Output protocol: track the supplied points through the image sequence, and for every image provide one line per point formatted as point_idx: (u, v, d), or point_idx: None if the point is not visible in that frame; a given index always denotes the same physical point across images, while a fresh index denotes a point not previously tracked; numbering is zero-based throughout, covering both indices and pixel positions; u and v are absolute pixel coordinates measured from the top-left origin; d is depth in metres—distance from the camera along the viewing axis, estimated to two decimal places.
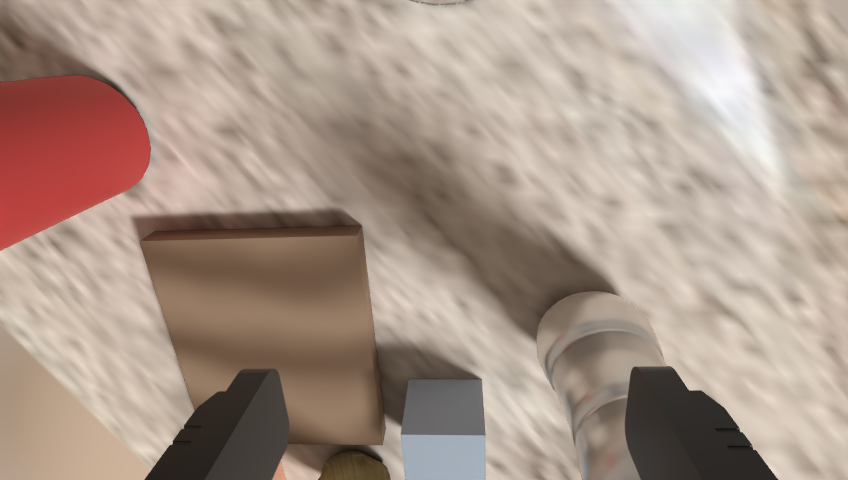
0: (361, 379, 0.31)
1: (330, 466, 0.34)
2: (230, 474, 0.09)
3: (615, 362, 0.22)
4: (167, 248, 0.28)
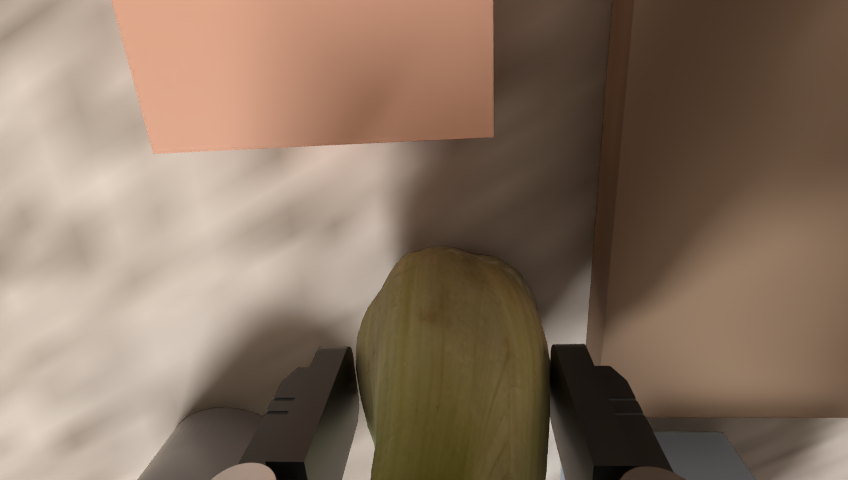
0: (822, 391, 0.13)
1: (528, 298, 0.12)
2: (325, 440, 0.09)
3: None
4: None
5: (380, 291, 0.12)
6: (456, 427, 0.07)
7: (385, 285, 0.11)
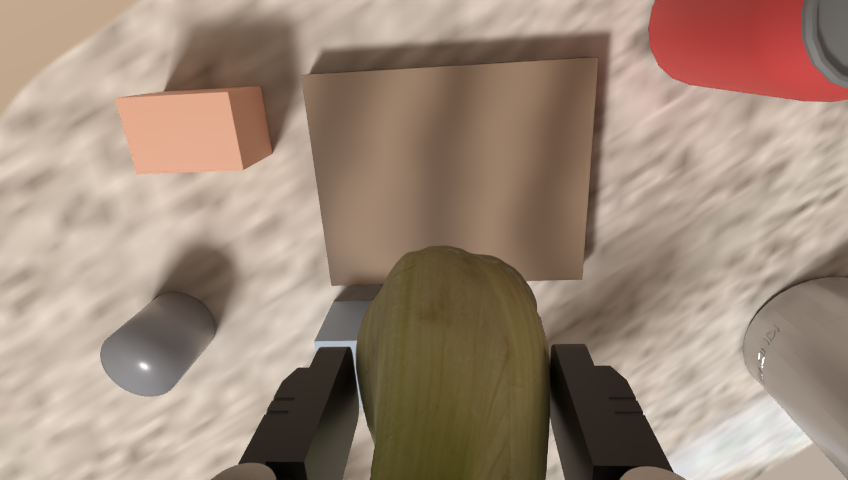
0: None
1: (528, 297, 0.12)
2: (325, 440, 0.09)
3: None
4: (586, 89, 0.25)
5: (380, 290, 0.12)
6: (456, 426, 0.07)
7: (385, 284, 0.11)
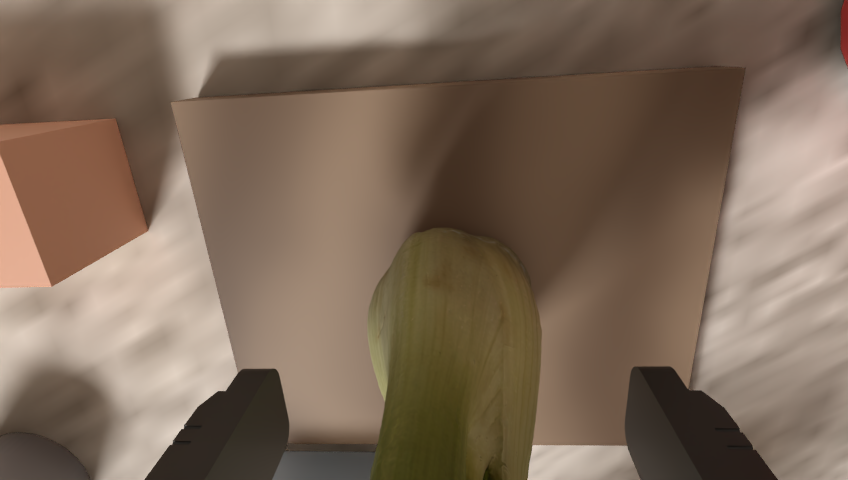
0: None
1: (523, 274, 0.13)
2: (230, 474, 0.09)
3: None
4: (715, 129, 0.13)
5: (389, 267, 0.13)
6: (455, 368, 0.08)
7: (394, 260, 0.12)
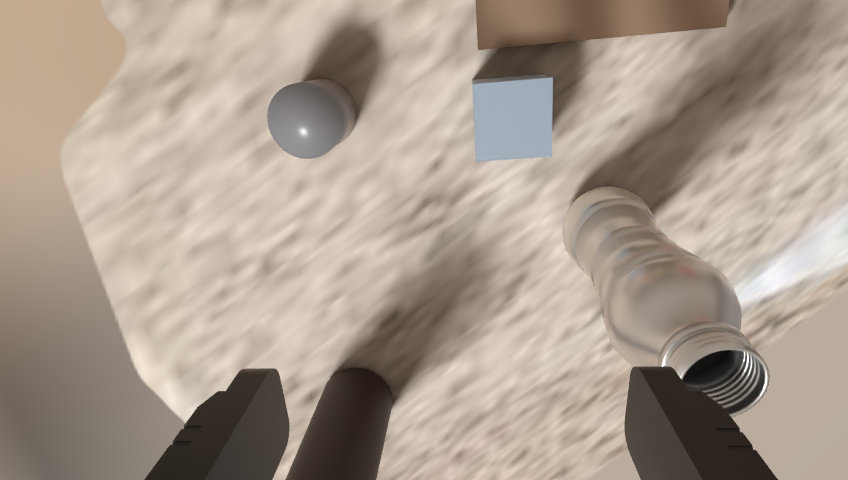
0: (564, 27, 0.31)
1: None
2: (230, 474, 0.09)
3: None
4: None
5: None
6: None
7: None
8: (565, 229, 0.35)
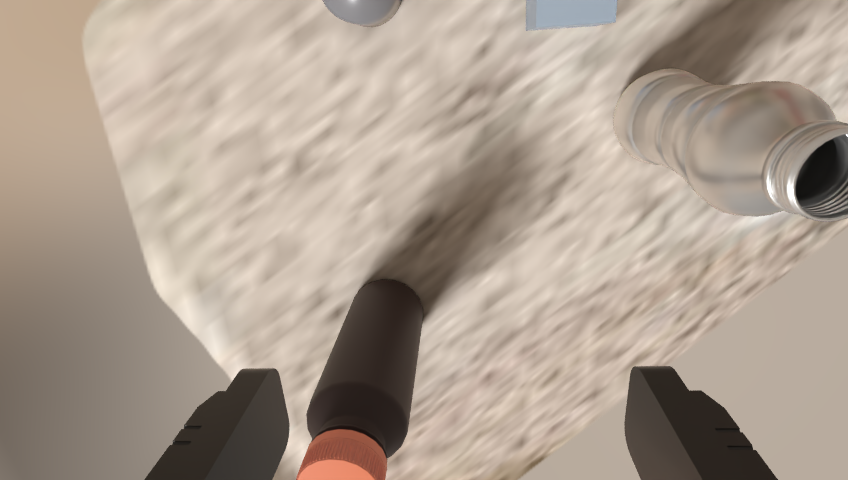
0: None
1: None
2: (230, 474, 0.09)
3: None
4: None
5: None
6: None
7: None
8: (619, 113, 0.34)
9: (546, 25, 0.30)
